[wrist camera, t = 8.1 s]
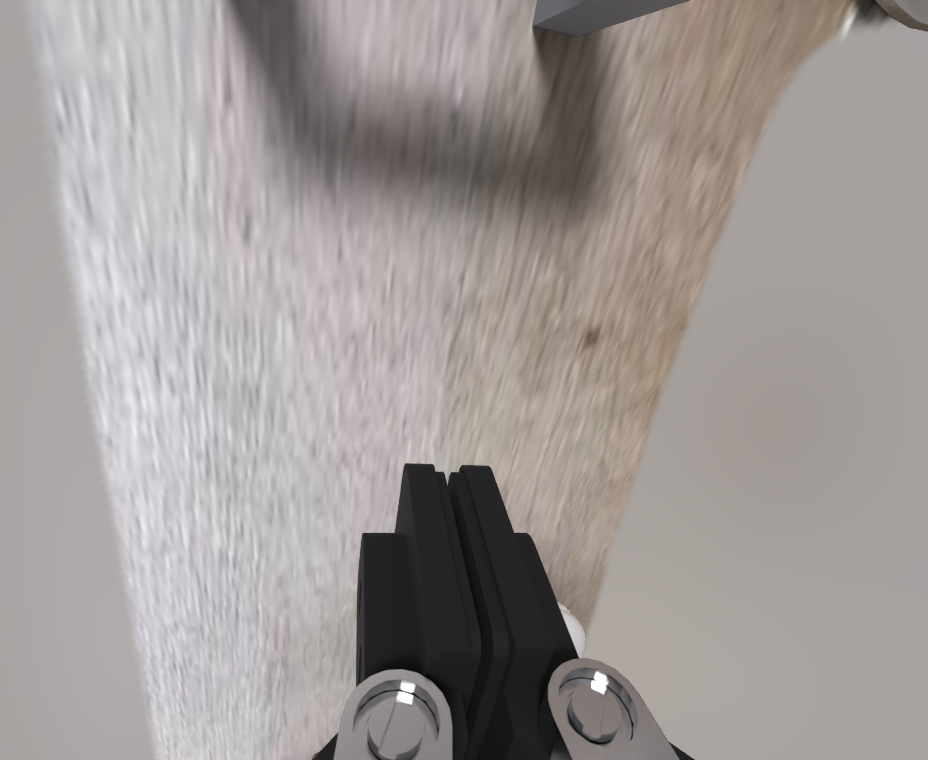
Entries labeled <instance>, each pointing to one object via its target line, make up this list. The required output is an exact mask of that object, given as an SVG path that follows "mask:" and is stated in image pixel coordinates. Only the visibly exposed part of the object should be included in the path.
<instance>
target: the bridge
mask: <svg viewBox="0 0 928 760" xmlns="http://www.w3.org/2000/svg"><path fill="white" fill-rule="evenodd" d="M686 1H689V0H537V4H536V9H535V15H534V20H533V26H535V27H539V28H544V29H548V30H552V31H556V32H561V33H565V34H569V35H574V36H582V35H585V34H588V33H591V32H594V31H597V30H600V29H603V28H606V27H609V26H612V25H615V24H619V23H622V22H625V21H628V20H631V19H634V18H637V17H640V16H643V15H646V14H649V13H652V12H656V11H659V10H662V9H665V8H668V7H671V6H674V5H677V4H680V3H683V2H686Z"/></svg>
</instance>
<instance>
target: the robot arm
mask: <svg viewBox="0 0 928 760" xmlns="http://www.w3.org/2000/svg"><path fill="white" fill-rule="evenodd" d="M875 1H876V2H877V3H878V4H879V5H880V6H881V7H882V8H883V9H884V10H885V11H886V13H887V14H888V15H889V16H890V17H891V18H893V19H895V20H897V21H898V22H900V23H902V24H904V25H906V26H907V27H909V28H913V29H918V30H923V31H928V0H875ZM313 760H694V759H693V758H691V757H690V756H688V755H687V754H686V753H684V752H682V751H681V750H680V749H678V748H677V747H676V746H674V745H673V744H671V743H670V742H668V740H667V738H666V737H665V735H664V734H663V732H662V730H661V729H660V727H659V725H658V724H657V722H656V721H655V719H654V717H653V716H652V714H651V712H650V711H649V709H648V708H647V706H646V704H645V703H644V701H643V699H642V698H641V696H640V695H639V693H638V692H637V691H636V689H635V688H634V687H633V685H632V684H631V683H630V682H629V681H628V679H626V678H625V677H624V676H623V675H622V674H620V673H619V672H618V671H617V670H616V669H614V668H612V667H610V666H608V665H606V664H604V663H602V662H599V661H595V660H591V659H587V658H585V659H579V656H578V654H577V651H576V649H575V646H574V643H573V641H572V638H571V636H570V633H569V631H568V628H567V626H566V623H565V621H564V618H563V615H562V613H561V610H560V608H559V605H558V603H557V600H556V598H555V595H554V593H553V590H552V587H551V585H550V582H549V580H548V577H547V575H546V572H545V570H544V567H543V565H542V562H541V560H540V557H539V554H538V552H537V549H536V547H535V544H534V542H533V540H532V538H531V536H530V535H529V534H527V533H514V531H513V528H512V525H511V523H510V520H509V517H508V514H507V511H506V509H505V506H504V503H503V500H502V497H501V495H500V492H499V489H498V486H497V483H496V481H495V478H494V475H493V472H492V470H491V468H490V467H489V466H476V465H462V466H461V467H460V469H459V472H451V474H450V476H449V481H448V487H447V482H446V478H445V474H444V472H435V467H434V465H433V464H408V463H406V464H405V465H404V469H403V476H402V484H401V491H400V498H399V506H398V513H397V520H396V528H395V533H363V534H362V540H361V549H360V559H359V571H358V588H357V651H356V689H355V690H354V691H353V693H352V694H351V695H350V697H349V698H348V700H347V702H346V705H345V708H344V711H343V714H342V717H341V721H340V727H339V732H338V733H337V734H336V735H335V736H334V737H333V738H332V739H331V741H330V742H329V743H328V744H327V745H326V746H325V747H324V748H323V749H322V750H321V751H320V752H319V753H318V754H317V755H316V756H315V758H314V759H313Z"/></svg>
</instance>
